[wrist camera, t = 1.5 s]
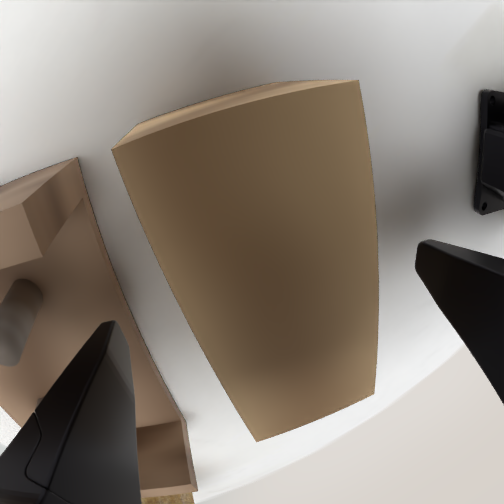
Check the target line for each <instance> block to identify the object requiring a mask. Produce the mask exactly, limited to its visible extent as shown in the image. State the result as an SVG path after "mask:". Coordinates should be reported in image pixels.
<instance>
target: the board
mask: <svg viewBox="0 0 504 504" xmlns="http://www.w3.org/2000/svg"><path fill="white" fill-rule="evenodd" d="M111 150H112V153H113V156H114V158H115V161H116V164H117V166H118V169H119V171H120V174H121V177H122V179H123V182H124V184H125V187H126V189H127V192H128V194H129V196H130V199H131V201H132V204H133V206H134V209H135V211H136V213H137V216H138V218H139V220H140V223H141V225H142V227H143V230H144V232H145V234H146V236H147V239H148V241H149V243H150V245H151V248H152V250H153V252H154V254H155V256H156V258H157V261H158V263H159V265H160V267H161V269H162V271H163V273H164V276H165V278H166V280H167V282H168V284H169V286H170V288H171V290H172V292H173V294H174V296H175V298H176V300H177V302H178V304H179V306H180V308H181V310H182V312H183V314H184V316H185V318H186V320H187V322H188V324H189V326H190V328H191V330H192V332H193V333H194V335H195V337H196V339H197V341H198V343H199V345H200V347H201V348H202V350H203V352H204V354H205V356H206V358H207V359H208V361H209V363H210V365H211V367H212V368H213V370H214V372H215V374H216V376H217V377H218V379H219V381H220V383H221V384H222V386H223V388H224V390H225V391H226V393H227V395H228V396H229V398H230V400H231V402H232V403H233V405H234V407H235V408H236V410H237V412H238V413H239V415H240V416H241V418H242V420H243V421H244V423H245V425H246V426H247V428H248V429H249V431H250V433H251V434H252V436H253V437H254V439H255V441H256V442H259V441H262V440H265V439H268V438H271V437H273V436H276V435H279V434H282V433H285V432H287V431H290V430H293V429H296V428H298V427H301V426H303V425H306V424H308V423H311V422H313V421H316V420H318V419H321V418H323V417H325V416H328V415H330V414H332V413H335V412H337V411H339V410H342V409H344V408H346V407H348V406H350V405H352V404H355V403H357V402H359V401H361V400H363V399H365V398H367V397H369V396H371V395H373V394H374V391H375V378H376V364H377V346H378V316H379V271H378V241H377V222H376V208H375V195H374V184H373V174H372V165H371V156H370V148H369V141H368V133H367V127H366V120H365V114H364V108H363V102H362V96H361V91H360V85H359V80H308V81H287V82H275V83H271V84H266V85H262V86H258V87H254V88H249V89H246V90H242V91H238V92H234V93H230V94H227V95H223V96H220V97H216V98H213V99H209V100H206V101H203V102H199V103H196V104H193V105H190V106H187V107H184V108H181V109H178V110H175V111H172V112H169V113H166V114H163V115H160V116H158V117H155V118H152V119H149V120H147V121H144V122H141V123H139V124H137V125H136V126H135V127H134V128H133V129H132V130H131V131H130V132H129V133H128V134H127V135H125V136H124V137H123V138H122V139H121V140H120V141H119V142H118V143H117V144H116V145H115V146H114V147H113V148H112V149H111Z"/></svg>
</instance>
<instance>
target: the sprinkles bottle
mask: <svg viewBox="0 0 504 504" xmlns="http://www.w3.org/2000/svg"><path fill="white" fill-rule="evenodd" d="M141 501H142V504H194V500H193V495H192V492H190V493H183V494H175V495H167V496H157V497H146V498H141Z"/></svg>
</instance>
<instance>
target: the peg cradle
mask: <svg viewBox="0 0 504 504" xmlns="http://www.w3.org/2000/svg"><path fill="white" fill-rule="evenodd" d="M111 320H115V321H117V322H118V324H119V326H120V328H121V330H122V332H123V334H124V336H125V338H126V340H127V342H128V345H129V349H130V358H131V368H132V377H133V385H134V393H135V409H136V438H137V456H138V470H139V481H140V492H141V498H146V497H157V496H167V495H175V494H183V493H190V492H196V491H198V488H197V483H196V478H195V472H194V467H193V461H192V455H191V450H190V444H189V437H188V431H187V424H186V421H185V419H184V418H183V416H182V414H181V412H180V411H179V409H178V407H177V405H176V404H175V402H174V400H173V398H172V396H171V394H170V392H169V391H168V389H167V387H166V385H165V383H164V381H163V379H162V377H161V375H160V373H159V371H158V369H157V367H156V365H155V363H154V361H153V359H152V357H151V355H150V353H149V351H148V349H147V347H146V345H145V343H144V341H143V339H142V336H141V334H140V332H139V330H138V328H137V325H136V323H135V321H134V319H133V316H132V314H131V312H130V310H129V307H128V305H127V302H126V300H125V298H124V295H123V293H122V290H121V288H120V285H119V283H118V280H117V278H116V275H115V273H114V270H113V268H112V265H111V262H110V260H109V257H108V254H107V251H106V249H105V246H104V243H103V240H102V237H101V234H100V232H99V229H98V226H97V223H96V220H95V216H94V213H93V210H92V207H91V204H90V201H89V197H88V194H87V191H86V187H85V184H84V180H83V177H82V173H81V169H80V166H79V162H78V158H77V157H76V158H73V159H70V160H67V161H64V162H61V163H59V164H56V165H53V166H50V167H47V168H45V169H42V170H39V171H37V172H34V173H31V174H29V175H26V176H24V177H21V178H19V179H16V180H14V181H11V182H9V183H6V184H4V185H2V186H0V406H1V407H2V408H3V409H4V410H5V411H6V412H7V413H8V414H9V416H10V417H11V418H12V419H13V420H14V421H15V422H16V423H17V424H18V425H19V426H20V427H21V428H22V427H23V425H24V424H25V423H26V421H27V420H28V418H29V417H30V416H31V414H32V413H33V412H34V413H35V411H34V410H35V409H36V407H37V406H38V404H39V403H40V402H41V400H42V399H43V398H44V396H45V395H46V393H47V392H48V391H49V389H50V388H51V387H52V385H53V384H54V383H55V381H56V380H57V379H58V377H59V376H60V375H61V373H62V372H63V371H64V369H65V368H66V367H67V366H68V364H69V363H70V362H71V360H72V359H73V358H74V356H75V355H76V354H77V353H78V351H79V350H80V349H81V348H82V346H83V345H84V344H85V342H86V341H87V340H88V339H89V337H90V336H91V335H92V334H93V332H94V331H95V330H96V329H97V328H98V326H99V325H100V324H101V323H102V322H106V321H111Z"/></svg>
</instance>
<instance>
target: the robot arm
mask: <svg viewBox="0 0 504 504" xmlns="http://www.w3.org/2000/svg"><path fill="white" fill-rule="evenodd" d="M502 209H504V93H503V92H498V91H493V90H487V89H486V90H484V91H483V92H482V95H481V138H480V154H479V166H478V177H477V185H476V193H475V201H474V210H475V212H477V213H479V214H480V215H485V214H488V213H492V212H495V211H498V210H502ZM415 269H416V272H417V274H418V275H419V277H420V278H421V280H422V281H423V283H424V285H425V286H426V288H427V289H428V291H429V292H430V294H431V296H432V297H433V299H434V301H435V302H436V304H437V305H438V307H439V308H440V310H441V311H442V313H443V314H444V315H445V317H446V318H447V319H448V321H449V322H450V323H451V325H452V326H453V328H454V329H455V330H456V332H457V333H458V335H459V336H460V337H461V339H462V340H463V342H464V343H465V345H466V346H467V348H468V349H469V351H470V352H471V353H472V355H473V356H474V358H475V359H476V361H477V362H478V364H479V366H480V367H481V369H482V370H483V372H484V373H485V375H486V376H487V378H488V379H489V381H490V383H491V384H492V386H493V387H494V389H495V391H496V392H497V394H498V396H499V397H500V399H501V401H502V403H503V404H504V259H502V258H499V257H495V256H492V255H488V254H484V253H481V252H477V251H473V250H470V249H466V248H462V247H458V246H455V245H451V244H447V243H443V242H439V241H435V240H431V239H428V240H425V241H422V242H420V243H419V244H418V247H417V254H416V260H415ZM34 411H35V413H34V412H33V413H32V414H31V416H30V417H29V418H28V420H27V421H26V423H25V424H24V425H23V427H22V428H21V430H20V431H19V432H18V434H17V435H16V437H15V438H14V439H13V440H12V442H11V443H10V444H9V445H8V447H7V448H6V449H5V451H4V452H3V453H2V454H1V456H0V504H142V501H141V492H140V481H139V470H138V456H137V438H136V409H135V393H134V385H133V377H132V368H131V358H130V349H129V345H128V342H127V340H126V338H125V336H124V334H123V332H122V330H121V328H120V326H119V324H118V322H117V321H115V320H111V321H106V322H102V323H101V324H100V325H99V326H98V328H97V329H96V330H95V331H94V332H93V334H92V335H91V336H90V337H89V339H88V340H87V341H86V342H85V344H84V345H83V346H82V348H81V349H80V350H79V351H78V353H77V354H76V355H75V356H74V358H73V359H72V360H71V362H70V363H69V364H68V366H67V367H66V368H65V369H64V371H63V372H62V373H61V375H60V376H59V377H58V379H57V380H56V381H55V383H54V384H53V385H52V387H51V388H50V389H49V391H48V392H47V393H46V395H45V396H44V398H43V399H42V400H41V402H40V403H39V404H38V406H37V407H36V409H35V410H34Z"/></svg>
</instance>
